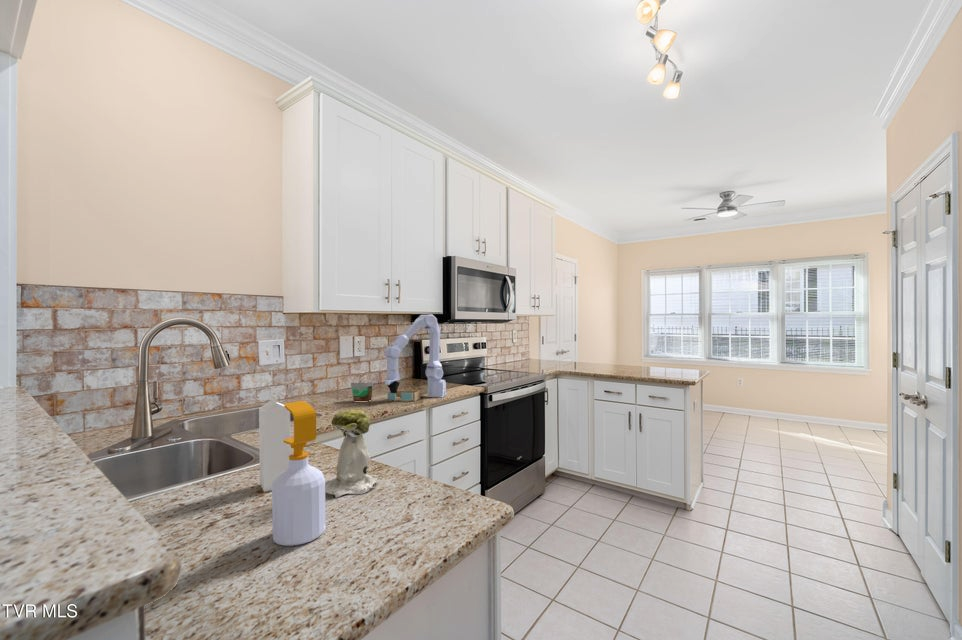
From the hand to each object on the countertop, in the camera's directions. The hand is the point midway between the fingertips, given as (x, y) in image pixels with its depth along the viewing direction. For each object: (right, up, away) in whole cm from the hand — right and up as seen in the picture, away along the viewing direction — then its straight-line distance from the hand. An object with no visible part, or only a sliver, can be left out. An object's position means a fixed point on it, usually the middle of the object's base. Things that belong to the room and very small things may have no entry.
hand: (393, 396), depth 207 cm
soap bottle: (+10, -2, -130) cm, 130 cm away
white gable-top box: (-6, -2, -106) cm, 106 cm away
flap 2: (+7, -1, -1) cm, 7 cm away
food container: (-17, -3, 0) cm, 17 cm away
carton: (+4, -2, +5) cm, 7 cm away
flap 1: (-1, -1, 0) cm, 2 cm away
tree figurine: (+13, -2, -108) cm, 109 cm away
